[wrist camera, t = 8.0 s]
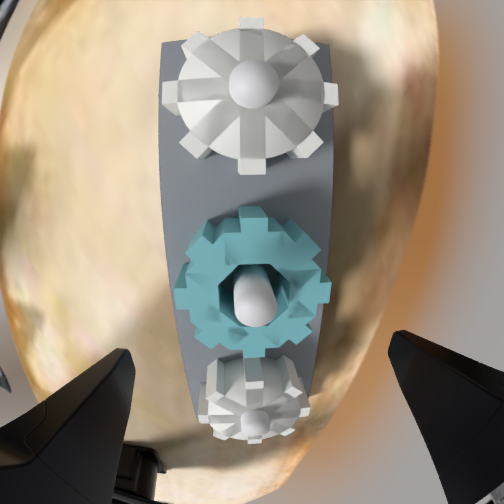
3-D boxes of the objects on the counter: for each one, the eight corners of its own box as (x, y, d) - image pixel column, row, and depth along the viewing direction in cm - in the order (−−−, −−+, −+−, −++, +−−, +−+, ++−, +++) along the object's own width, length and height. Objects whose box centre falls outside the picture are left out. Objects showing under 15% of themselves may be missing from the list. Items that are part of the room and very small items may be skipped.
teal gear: (307, 322, 17) (321, 351, 14) (190, 327, 16) (184, 359, 13) (317, 206, 14) (337, 217, 11) (179, 208, 14) (166, 220, 11)
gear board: (301, 399, 21) (316, 448, 16) (197, 405, 20) (194, 457, 15) (320, 53, 13) (358, 15, 7) (167, 52, 12) (141, 9, 7)
